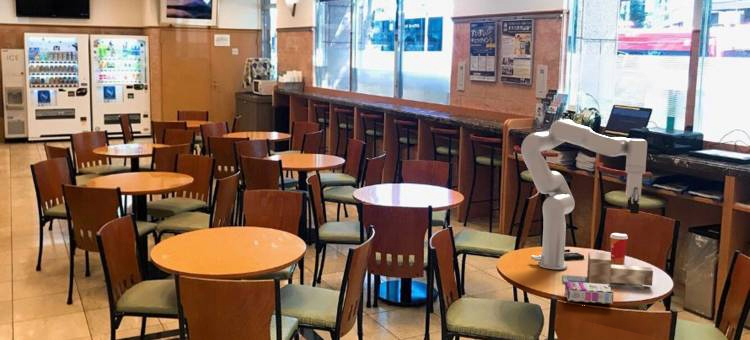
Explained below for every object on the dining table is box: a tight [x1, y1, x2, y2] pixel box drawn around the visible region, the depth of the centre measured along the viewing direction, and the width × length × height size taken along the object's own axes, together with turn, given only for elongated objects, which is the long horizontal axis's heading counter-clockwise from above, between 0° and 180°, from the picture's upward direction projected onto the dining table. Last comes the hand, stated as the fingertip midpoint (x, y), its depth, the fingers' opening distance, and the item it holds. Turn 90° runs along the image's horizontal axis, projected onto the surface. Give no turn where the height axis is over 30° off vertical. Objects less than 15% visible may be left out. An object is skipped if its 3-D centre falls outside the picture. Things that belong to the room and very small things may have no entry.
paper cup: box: [609, 232, 629, 264], centre depth 324 cm, size 8×8×14 cm
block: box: [610, 263, 654, 286], centre depth 290 cm, size 16×6×6 cm, turn 77°
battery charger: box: [564, 248, 585, 262], centre depth 330 cm, size 13×10×4 cm
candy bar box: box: [564, 282, 614, 305], centre depth 271 cm, size 11×5×16 cm
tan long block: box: [562, 251, 644, 291], centre depth 292 cm, size 31×12×12 cm, turn 77°
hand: (632, 211), depth 290 cm, fingers open, 9 cm apart
